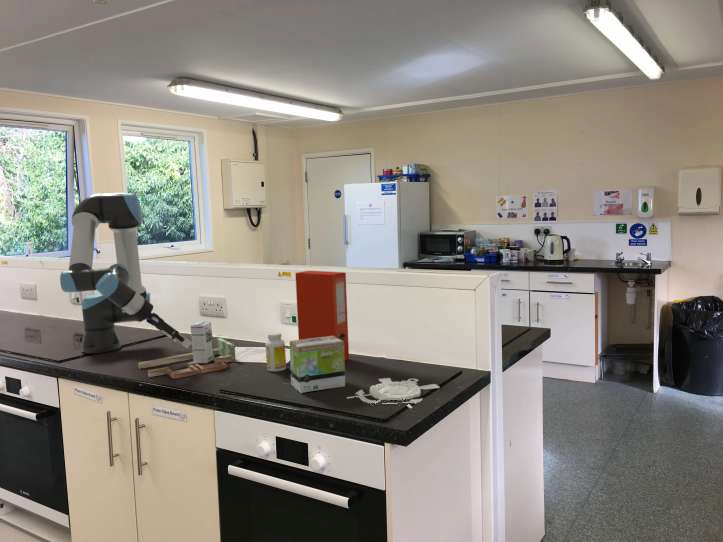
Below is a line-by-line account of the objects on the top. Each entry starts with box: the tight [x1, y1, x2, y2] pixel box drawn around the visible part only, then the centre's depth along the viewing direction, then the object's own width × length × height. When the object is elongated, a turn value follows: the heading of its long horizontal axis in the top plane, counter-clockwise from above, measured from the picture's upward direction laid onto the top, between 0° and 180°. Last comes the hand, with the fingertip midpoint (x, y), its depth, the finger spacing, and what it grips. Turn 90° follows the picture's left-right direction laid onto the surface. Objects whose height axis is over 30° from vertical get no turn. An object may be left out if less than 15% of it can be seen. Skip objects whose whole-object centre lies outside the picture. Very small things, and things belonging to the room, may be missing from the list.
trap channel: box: [137, 337, 236, 380], centre depth 218 cm, size 23×32×6 cm
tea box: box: [289, 336, 346, 394], centre depth 189 cm, size 15×10×15 cm, turn 114°
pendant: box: [346, 377, 441, 409], centre depth 181 cm, size 21×28×1 cm
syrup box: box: [189, 321, 215, 364], centre depth 224 cm, size 6×6×14 cm
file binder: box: [295, 270, 350, 361], centre depth 220 cm, size 8×17×32 cm, turn 53°
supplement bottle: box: [265, 331, 287, 373], centre depth 209 cm, size 7×7×13 cm
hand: (183, 342), depth 220 cm, fingers open, 13 cm apart
